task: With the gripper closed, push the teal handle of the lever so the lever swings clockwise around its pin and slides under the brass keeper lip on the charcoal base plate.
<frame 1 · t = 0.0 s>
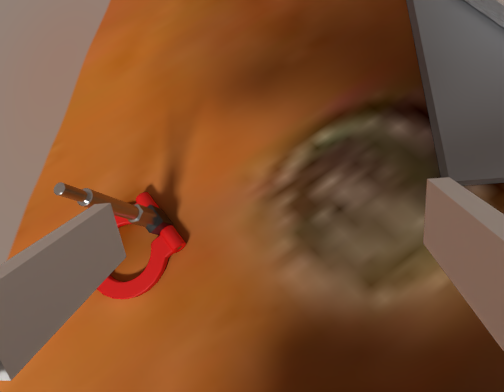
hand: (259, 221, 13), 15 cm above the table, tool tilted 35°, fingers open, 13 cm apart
tow hook: (134, 249, 31), on the table
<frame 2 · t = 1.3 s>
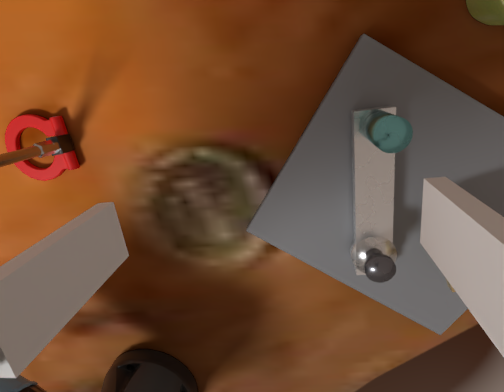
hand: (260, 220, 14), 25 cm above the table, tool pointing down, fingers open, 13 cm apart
tow hook: (44, 146, 42), on the table
base plate: (403, 201, 38), on the table
lever: (380, 207, 33), point 6 cm above the table, hinge at 35.0°
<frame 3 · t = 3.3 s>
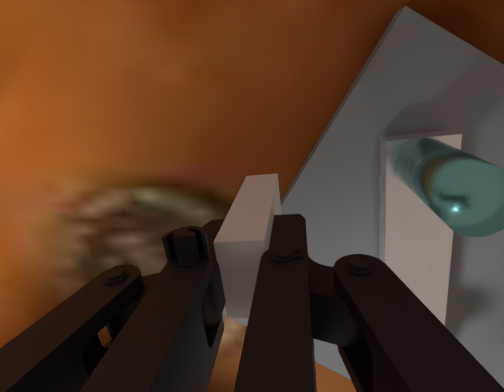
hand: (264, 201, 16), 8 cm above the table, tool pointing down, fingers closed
base plate: (456, 272, 25), on the table
lever: (430, 303, 19), point 6 cm above the table, hinge at 35.0°
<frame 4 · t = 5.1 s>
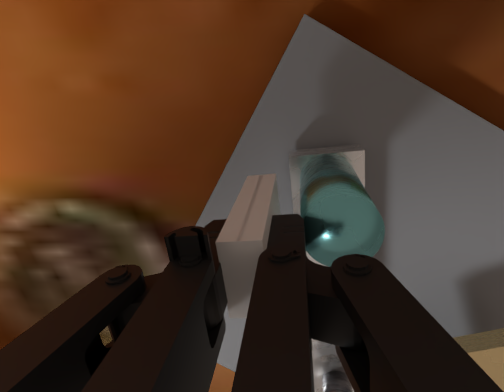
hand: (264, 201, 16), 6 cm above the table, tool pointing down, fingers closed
base plate: (385, 289, 24), on the table
lever: (336, 327, 18), point 6 cm above the table, hinge at 34.9°, touching gripper
keeper: (449, 318, 24), resting on base plate
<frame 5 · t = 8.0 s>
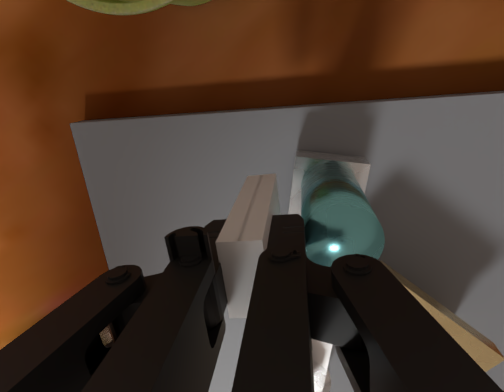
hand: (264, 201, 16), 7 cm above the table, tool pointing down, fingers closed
base plate: (300, 276, 24), on the table
lever: (309, 330, 19), point 6 cm above the table, hinge at -8.9°, touching gripper
keeper: (373, 272, 23), resting on base plate
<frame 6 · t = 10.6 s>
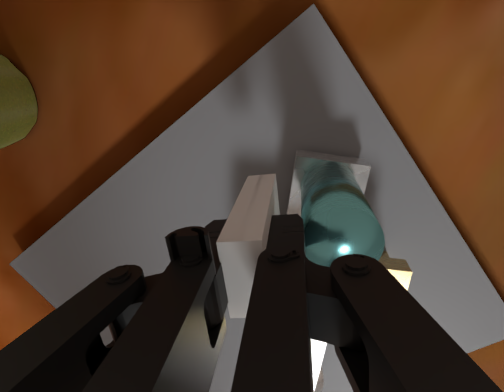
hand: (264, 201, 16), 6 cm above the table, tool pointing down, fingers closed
base plate: (246, 283, 25), on the table
plant pot: (2, 99, 23), on the table
lever: (304, 330, 19), point 6 cm above the table, hinge at -43.7°, touching gripper
keeper: (300, 246, 23), resting on base plate
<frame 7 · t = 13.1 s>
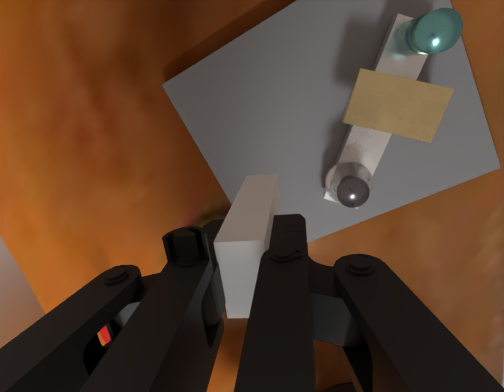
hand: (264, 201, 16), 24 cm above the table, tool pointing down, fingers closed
base plate: (326, 123, 37), on the table
lever: (381, 126, 31), point 6 cm above the table, hinge at -43.9°
keeper: (370, 97, 35), resting on base plate
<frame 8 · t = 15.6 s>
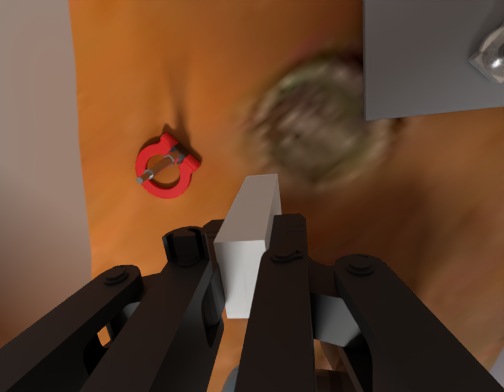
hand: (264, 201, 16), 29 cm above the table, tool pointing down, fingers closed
tow hook: (167, 168, 48), on the table
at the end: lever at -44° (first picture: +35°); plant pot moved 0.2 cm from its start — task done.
